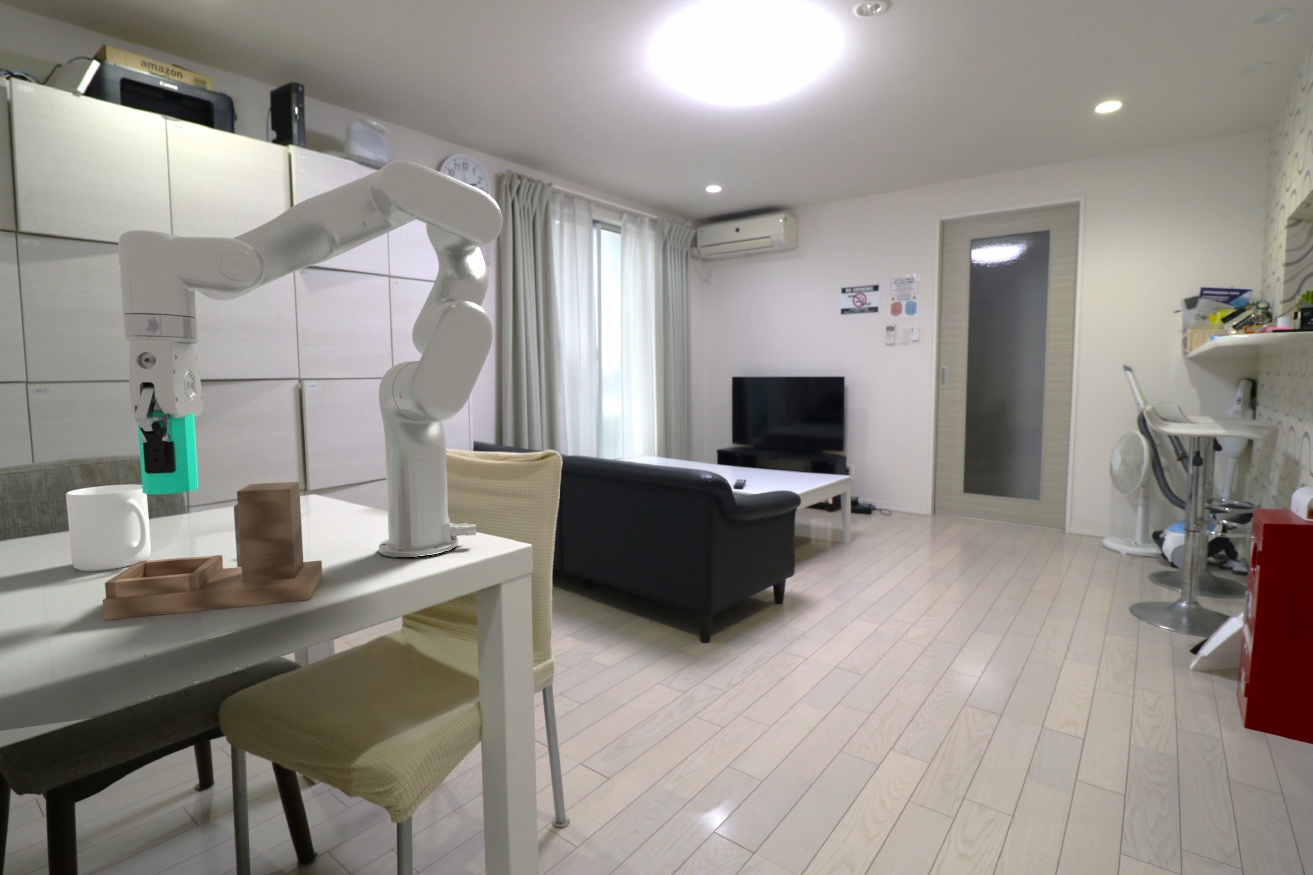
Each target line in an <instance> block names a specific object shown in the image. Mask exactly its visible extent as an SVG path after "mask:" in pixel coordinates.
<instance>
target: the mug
mask: <svg viewBox="0 0 1313 875" xmlns="http://www.w3.org/2000/svg"><path fill="white" fill-rule="evenodd" d="M65 500H66V510H67V521H68V533H69V545H70V556H71V563H72V566H73V568H74V569H76V570H78V571H82V572H101V570H102V571H103V570H104V571H111V570H117V569H116V568H118V569H122V567H124V568H128V567H131V566H132V565H134V564H136V563H137V562H139V561H148V559H149V558H150V557H151V553H152V549H151V548H152V546H151V535H150V534H151V533H150V532H151V531H150V521H149V520H150V519H149V506H148V494H145V493H143V491H142V484H115V485H114V484H111V485H101V486H92V487H84V488H78V489H73V490H70V491H67V492H66V493H65ZM127 566H128V567H127ZM104 571H103V572H104Z"/></svg>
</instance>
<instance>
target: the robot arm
mask: <svg viewBox="0 0 1313 875" xmlns="http://www.w3.org/2000/svg"><path fill="white" fill-rule="evenodd" d="M416 220H417V221H419V222H421V223H424V224H426V225H425V228H426V230H425V231H426V234H427V237H428V240H429V242H430V244H431V246H432V247H433V248H432V249H433V250H434V252H435V254H436V258H437V260H438V270H437V275H436V276H435V277H436V278H435V280H434V282H433V286H432V288H431V289H430V292H429V294H428V295H427V298H426V299H425V302H424V303H423V306H422V308H421V310H420V311H419V314H418V315H417V318H416V319H415V321H414V324H413V328H412V330H411V331H412V333H411V338H412V343H413V345H414V348H415V349H416V351H418V353H419V354H421V357H420V358H419V360H411V361H404V362H400V363H397V364H395V365H393V366H392V367H390V368H389V369H388V370H387V371H386V372H385V373H384V374H383V375H382V376H383V377H382V378H381V379H380V383H379V385H378V387H379V388H378V403H379V409H380V413H381V418H382V424H383V433H384V446H385V447H384V449H385V471H386V472H385V476H386V479H385V480H386V500H387V504H386V505H387V526H388V527H387V528H388V529H387V530H388V539H385V540H383V541H382V542H380V544H378V552H379V554H381V555H383V556H385V557H389V556H390V558H396V557H414V556H420V555H427V554H433V553H437V552H442V551H446V550H449V549H451V548H453V547H455V546H457V545H458V546H459V540H458V537H460V536H469V537H470V536H477V527H476V525H477V524H476V523H471V524H470V523H468V522H465V523H461V522H460V523H454V522H451V519H450V516H449V511H448V506H449V505H448V479H447V478H448V476H447V475H448V474H447V444H446V435H445V429H444V425H443V422H444V421H447V420H449V419H450V420H451V419H452V418H453V417H455V416H456V415H458V414H459V413H460V412H461V410H463V408H464V406H465V405H466V404H467V401H468V399H469V397H470V396H471V394H472V391H473V389H474V387H475V385H476V382H477V381H478V378H479V376H480V374H481V371H482V369H483V367H484V365H485V362H486V360H487V357H488V355H489V353H490V351H491V347H492V344H493V335H494V334H493V333H494V332H493V329H494V328H493V324H492V322H491V319H490V316H489V314H488V313H487V312H486V310H485V309H484V308H482V305H483V302H484V300H485V297H486V294H487V292H488V288H489V287H488V286H489V272H488V268H487V264H486V261H485V258H484V255H483V253H482V250H481V248H480V247H483V246H486V245H489V244H491V243H492V242H494V241H495V240H496V239H497V238H498V236H500V233H501V232H502V229H503V224H504V219H503V214H502V210H501V208H500V206H499V204H498V203H497V202H496V200H495V199H494V198H493V197H491V195H489V194H487V192H485V191H483V190H482V189H479V188H477V187H475V186H473V185H470V184H469V183H468V184H467V183H466V182H463V181H461V180H458V179H456V178H455V177H452V176H450V175H447V174H445V173H443V172H440V171H438V170H436V169H433V168H431V167H428V166H426V165H424V164H420V163H417V162H415V161H410V160H405V159H398V160H394V161H390V162H389V163H387V164H386V165H383V166H382V167H381V168H380V169H378V170H376V171H374V172H371V173H370V174H367V175H365V176H363V177H360V178H357V179H355V180H352V181H351V182H348V183H346V184H343V185H339V186H338V187H336V188H333V189H331V190H328V191H326V192H322V193H320V194H318V195H315V196H311V197H309V198H307V199H304V200H302V201H300V202H299V203H296V204H295V205H293V206H291V207H290V208H288V209H287V210H285V211H284V212H282V213H281V214H279V215H278V216H276V217H274V218H273V219H271V220H269V221H268V222H266V223H264V224H261V225H259V226H257V227H255V228H253V229H251V230H249V231H247V232H244V233H242V234H239V235H237V236H234V237H223V236H222V237H221V236H220V237H219V236H218V237H209V236H208V237H207V236H206V237H205V236H204V237H201V236H200V237H198V236H197V237H195V236H193V237H192V236H180V235H176V234H173V233H167V232H163V231H155V230H143V229H142V230H140V229H139V230H138V229H137V230H129V231H125V232H124V233H122V234H121V235H120V236H119V238H118V245H117V246H118V247H117V248H118V259H119V260H118V263H119V275H120V287H121V289H120V290H121V301H122V302H121V303H122V304H121V306H122V314H123V315H122V317H123V319H122V320H123V334H124V341H125V342H129V351H128V352H129V355H128V357H129V358H128V363H129V364H128V386H129V387H128V388H129V391H128V392H129V401H130V402H129V403H130V409H131V412H132V415H133V416H134V421H135V422H136V423H137V426H138V425H139V427H140V428H139V429H140V430H141V432H142V434H141V440H142V442H143V450H144V465H145V472H146V473H148V474H152V473H173V472H175V471H176V459H175V444H174V442H170V440H171V416H172V417H173V418H184V417H186V416H188V415H190V414H194V417H197V416H200V415H201V414H202V413H203V411H204V399H203V392H202V391H203V390H202V382H201V372H200V368H199V360H198V355H197V350H196V347H195V344H198V329H197V310H196V309H197V308H196V307H197V306H196V294H195V292H196V290H197V292H198V293H200V294H201V295H203V296H205V297H206V298H209V299H212V300H216V301H231V300H232V301H233V300H235V299H239V298H240V297H242V296H245V295H247V294H249V293H251V292H253V291H254V290H257V289H259V288H260V287H263V286H265V285H267V284H269V283H271V282H274V281H277V280H278V279H280V278H283V277H286V276H287V275H289V274H292V273H294V272H296V271H300V270H302V269H304V268H307V267H310V266H314V265H318V264H321V263H323V262H326V261H328V260H330V259H333V258H335V257H338V256H340V255H343V254H345V253H347V252H349V251H352V250H353V249H356V248H358V247H360V246H361V245H363V244H366V243H368V242H370V241H373V240H374V239H376V238H379V237H381V236H383V235H385V234H387V233H390V232H392V231H394V230H397V229H399V228H401V227H403V226H405V225H406V224H409V223H411V222H413V221H416ZM153 413H164V414H165V417H153ZM170 415H171V416H170ZM158 422H163V429H162V428H161V426H160V424H159V423H158ZM458 546H457V547H458Z"/></svg>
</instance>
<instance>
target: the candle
mask: <svg viewBox="0 0 1313 875" xmlns="http://www.w3.org/2000/svg"><path fill="white" fill-rule="evenodd" d="M170 416H171V415H170ZM153 417H165V414H164V413H153ZM158 423H159V424H160V426H161V428H162V429H163V422H158ZM195 424H196V422H195V416H194V414H190V415H188V416H186V417H184V418H173V417H172V416H171V440H170V442H174V444H175V459H176V471H175V472H173V473H152V474H148V473H146V472H145V465H144V450H143V442H142V440H141V434H142V432H141V430H140V429H139V428H140V427H139V425H138V424H137V429H138V443H139V444H138V445H139V456H140V457H139V459H140V472H141V473H140V474H141V476H140V477H141V485H142V491H143V493H145V494H147V495H170V494H180V493H186V492H187V493H188V492H192V491H193V492H194V491H196V490H199V476H198V475H199V472H198V458H197V455H198V454H197V441H196V440H197V439H196V425H195Z"/></svg>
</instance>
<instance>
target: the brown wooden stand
mask: <svg viewBox="0 0 1313 875" xmlns="http://www.w3.org/2000/svg"><path fill="white" fill-rule="evenodd" d="M300 491H301V488H300V481H291V482H287V481H286V482H267V483H265V482H264V483H263V482H262V483H250V484H247V485H246V486H244V487H242V488H241V489H238V490H237V491H236V497H237V499H236V500H237V504H235V505H233V516H234V517H233V519H234V535H235V537H234V538H235V550H236V551H235V552H236V565H237V567H226V568H224V564H223V555H222V554H216V555H204V556H193V557H192V556H189V557H177V558H165V559H153V560H152V559H151V560H150V559H149V560H146V561H139V562H137V563H136V564H134V565H133V566H128V567H127V568H126V569H125V570H123V571H122V572H119V573H118V574H117V575H115V576H113V577H112V578H110V579H109V580H107V581H106V582H104V589H105V598H103V599H102V608H103V611H102V612H103V621H108V620H109V621H110V620H117V619H118V620H120V619H132V618H141V617H149V616H159V615H160V616H162V615H170V614H181V613H191V612H200V611H209V610H221V609H222V610H223V609H231V608H238V607H249V606H261V605H262V606H263V605H272V604H279V603H280V604H281V603H288V602H289V603H291V602H298V601H299V602H302V601H310V600H311V598H312V596H313V595H314V593H315V592H316V589H317V588H318V586H319V584H320V582H321V580H322V579H323V561H322V560H313V561H304V549H303V533H302V532H303V529H302V511H301V508H302V507H301V493H300Z"/></svg>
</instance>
